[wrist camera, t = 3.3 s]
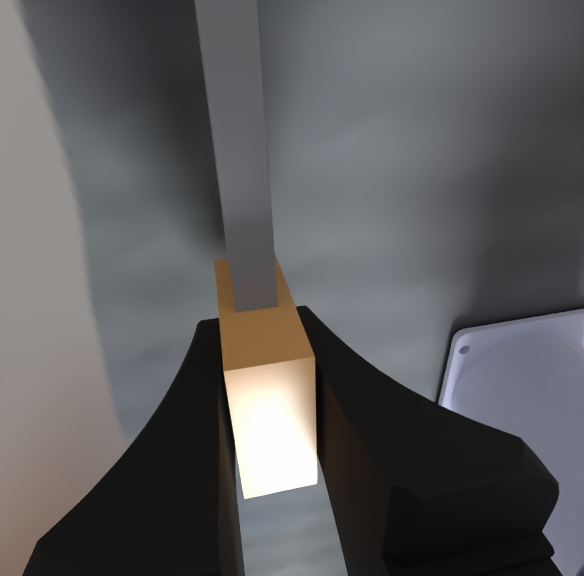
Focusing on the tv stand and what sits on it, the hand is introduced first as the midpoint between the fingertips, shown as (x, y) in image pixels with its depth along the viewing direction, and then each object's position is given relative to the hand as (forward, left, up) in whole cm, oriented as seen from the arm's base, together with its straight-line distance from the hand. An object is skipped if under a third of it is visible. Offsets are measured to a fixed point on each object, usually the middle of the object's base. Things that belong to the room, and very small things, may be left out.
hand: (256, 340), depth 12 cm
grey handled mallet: (+5, 0, -2) cm, 5 cm away
